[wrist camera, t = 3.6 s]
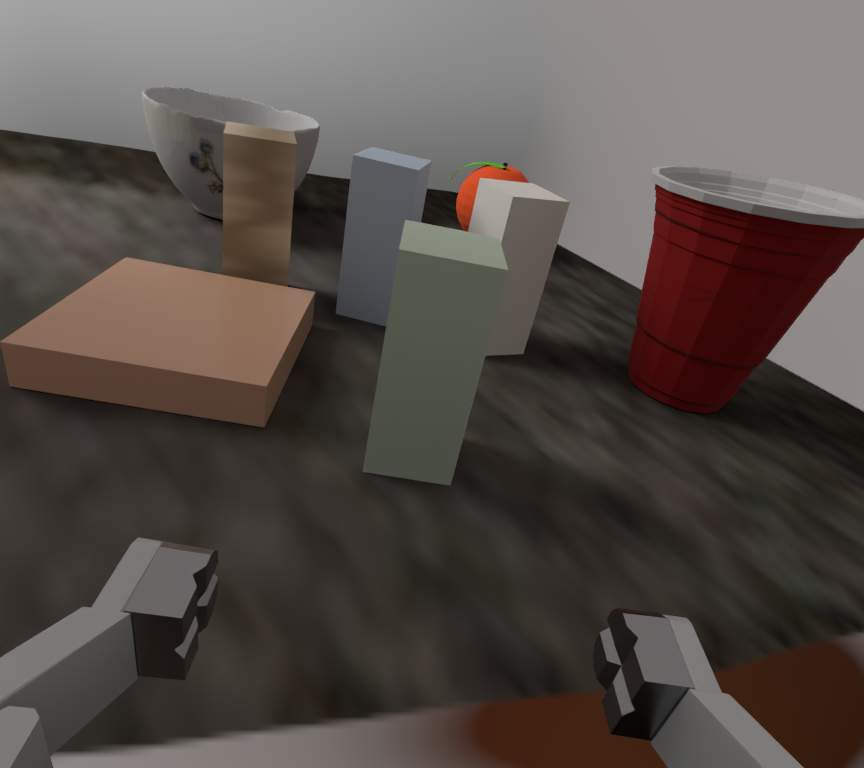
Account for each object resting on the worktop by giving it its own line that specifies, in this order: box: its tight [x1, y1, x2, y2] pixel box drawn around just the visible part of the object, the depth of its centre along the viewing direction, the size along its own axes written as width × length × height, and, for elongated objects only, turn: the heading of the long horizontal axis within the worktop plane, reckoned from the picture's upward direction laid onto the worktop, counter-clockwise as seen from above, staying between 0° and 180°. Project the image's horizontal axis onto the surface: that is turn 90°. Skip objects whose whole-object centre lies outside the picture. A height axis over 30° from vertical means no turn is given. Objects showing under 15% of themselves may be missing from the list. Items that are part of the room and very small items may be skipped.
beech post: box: [223, 121, 297, 287], centre depth 32 cm, size 4×4×9 cm
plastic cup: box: [628, 166, 864, 413], centre depth 31 cm, size 11×11×12 cm
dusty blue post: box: [336, 147, 431, 327], centre depth 33 cm, size 4×4×9 cm
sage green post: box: [362, 220, 508, 486], centre depth 22 cm, size 4×4×9 cm
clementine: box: [452, 162, 529, 232], centre depth 51 cm, size 8×7×7 cm
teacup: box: [142, 87, 320, 220], centre depth 46 cm, size 15×12×8 cm
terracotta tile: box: [0, 257, 315, 428], centre depth 27 cm, size 10×10×2 cm
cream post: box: [468, 178, 569, 356], centre depth 32 cm, size 4×4×9 cm
